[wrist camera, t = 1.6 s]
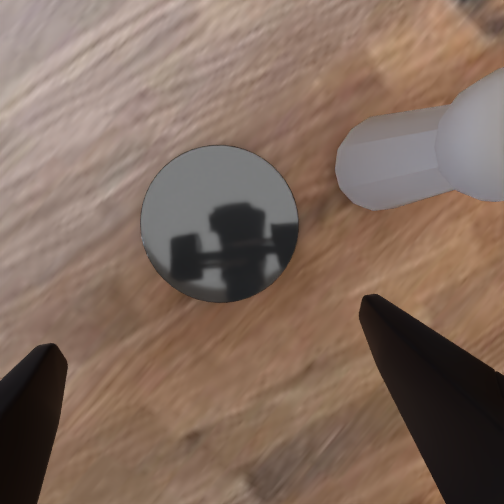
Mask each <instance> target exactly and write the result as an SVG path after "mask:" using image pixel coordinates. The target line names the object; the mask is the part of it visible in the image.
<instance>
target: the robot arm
mask: <svg viewBox="0 0 504 504" xmlns="http://www.w3.org/2000/svg"><path fill="white" fill-rule="evenodd" d="M359 320H360V323H361V326H362V328H363V331H364V334H365V336H366V339H367V342H368V344H369V347H370V350H371V352H372V355H373V358H374V360H375V363H376V365H377V368H378V370H379V372H380V374H381V376H382V378H383V380H384V382H385V384H386V386H387V388H388V390H389V392H390V394H391V396H392V398H393V400H394V402H395V404H396V406H397V408H398V410H399V412H400V414H401V416H402V418H403V420H404V422H405V424H406V425H407V427H408V429H409V431H410V433H411V435H412V437H413V439H414V441H415V443H416V445H417V447H418V449H419V451H420V453H421V455H422V457H423V459H424V461H425V463H426V465H427V467H428V469H429V471H430V473H431V475H432V477H433V479H434V481H435V483H436V485H437V487H438V489H439V491H440V493H441V495H442V497H443V499H444V501H445V503H446V504H504V375H502V374H501V373H499V372H497V371H496V372H495V370H494V369H493V368H491V367H490V366H488V365H487V364H485V363H484V362H482V361H480V360H479V359H477V358H476V357H474V356H473V355H471V354H470V353H468V352H467V351H465V350H463V349H462V348H460V347H459V346H457V345H456V344H454V343H453V342H451V341H450V340H448V339H446V338H445V337H443V336H442V335H440V334H439V333H437V332H436V331H434V330H432V329H431V328H429V327H428V326H426V325H425V324H423V323H422V322H420V321H419V320H417V319H415V318H414V317H412V316H411V315H409V314H408V313H406V312H405V311H403V310H402V309H400V308H398V307H397V306H395V305H394V304H392V303H391V302H389V301H388V300H386V299H385V298H383V297H381V296H380V295H378V294H371V295H365V296H364V297H363V298H362V302H361V306H360V311H359ZM67 369H68V364H67V360H66V358H65V357H64V355H63V354H62V352H61V351H60V349H59V348H58V346H57V345H56V344H54V343H49V344H43V345H39V346H37V347H35V348H34V349H33V350H32V351H31V352H30V353H29V354H28V355H27V356H26V357H25V358H24V359H23V360H22V361H20V362H19V363H18V364H17V365H16V366H15V367H14V368H13V369H12V370H11V371H10V372H9V373H8V374H7V375H6V376H5V377H4V378H3V379H2V380H1V381H0V504H37V502H38V499H39V495H40V491H41V488H42V484H43V480H44V476H45V473H46V469H47V465H48V462H49V458H50V454H51V451H52V447H53V443H54V440H55V436H56V432H57V428H58V424H59V419H60V414H61V408H62V401H63V395H64V389H65V382H66V376H67Z"/></svg>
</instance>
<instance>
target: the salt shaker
mask: <svg viewBox="0 0 504 504" xmlns="http://www.w3.org/2000/svg"><path fill="white" fill-rule="evenodd" d="M335 172H336V176H337V180H338V184H339V187H340V190H341V191H342V192H343V193H344V194H345V195H346V196H347V197H348V198H349V199H350V200H351V201H352V202H353V203H354V204H356V205H359V206H362V207H364V208H367V209H370V210H372V211H378V210H386V209H394V208H397V207H400V206H404V205H407V204H410V203H413V202H417V201H420V200H423V199H426V198H430V197H433V196H436V195H439V194H442V193H446V192H449V191H452V190H457V191H459V192H461V193H464V194H466V195H468V196H471V197H473V198H476V199H478V200H481V201H492V202H497V201H504V67H503V68H499V69H497V70H495V71H494V72H492V73H490V74H489V75H487V76H485V77H484V78H482V79H480V80H479V81H477V82H476V83H474V84H473V85H471V86H470V87H468V88H467V89H465V90H463V91H462V92H460V93H459V94H458V95H457V97H456V98H455V99H454V101H453V102H452V103H451V104H450V105H444V106H437V107H431V108H424V109H418V110H411V111H405V112H398V113H392V114H385V115H379V116H372V117H369V118H367V119H366V120H364V121H363V122H361V123H360V124H358V125H357V126H355V127H354V128H352V129H351V130H350V132H349V133H348V135H347V136H346V138H345V139H344V141H343V142H342V144H341V145H340V147H339V148H338V150H337V158H336V165H335Z"/></svg>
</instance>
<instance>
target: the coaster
mask: <svg viewBox="0 0 504 504" xmlns="http://www.w3.org/2000/svg"><path fill="white" fill-rule="evenodd" d="M140 227H141V236H142V241H143V245H144V248H145V251H146V254H147V256H148V258H149V260H150V262H151V263H152V265H153V266H154V268H155V269H156V271H157V272H158V273H159V274H160V276H161V277H162V278H163V279H164V280H165V281H166V282H167V283H169V284H170V285H171V286H172V287H174V288H175V289H177V290H178V291H180V292H181V293H183V294H185V295H187V296H190V297H192V298H195V299H198V300H202V301H207V302H215V303H227V302H234V301H239V300H243V299H246V298H249V297H251V296H253V295H256V294H258V293H259V292H261V291H263V290H264V289H266V288H267V287H268V286H270V285H271V284H272V283H273V282H274V281H275V280H276V279H277V278H278V277H279V276H280V275H281V274H282V272H283V271H284V270H285V268H286V267H287V265H288V263H289V262H290V260H291V258H292V255H293V253H294V250H295V247H296V243H297V238H298V231H299V219H298V211H297V207H296V203H295V199H294V197H293V194H292V192H291V190H290V188H289V186H288V184H287V183H286V181H285V180H284V178H283V177H282V176H281V174H280V173H279V172H278V171H277V170H276V169H275V168H274V167H273V166H272V165H271V164H270V163H268V162H267V161H266V160H265V159H263V158H261V157H260V156H258V155H256V154H255V153H252V152H250V151H247V150H245V149H242V148H238V147H234V146H227V145H210V146H203V147H199V148H195V149H192V150H190V151H187V152H185V153H183V154H181V155H179V156H178V157H176V158H174V159H173V160H171V161H170V162H169V163H168V164H167V165H165V166H164V167H163V168H162V170H161V171H160V172H159V173H158V174H157V175H156V177H155V178H154V180H153V181H152V182H151V184H150V186H149V188H148V190H147V192H146V195H145V198H144V201H143V204H142V210H141V219H140Z"/></svg>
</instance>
